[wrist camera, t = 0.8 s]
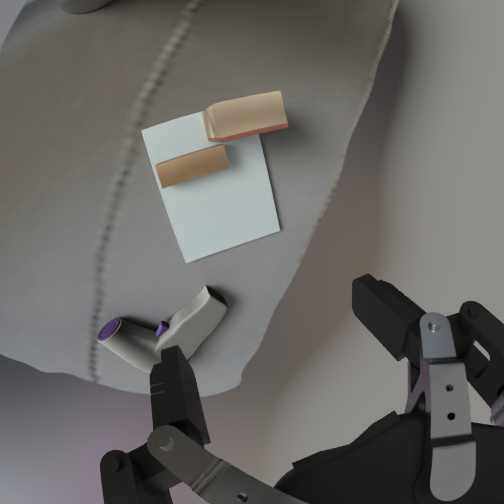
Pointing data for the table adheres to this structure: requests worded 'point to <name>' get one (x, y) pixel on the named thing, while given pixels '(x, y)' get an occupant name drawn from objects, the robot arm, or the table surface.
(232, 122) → the wooden block
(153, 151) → the silicone mat
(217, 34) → the table surface
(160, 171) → the rail
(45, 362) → the table surface
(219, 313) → the infrared thermometer
